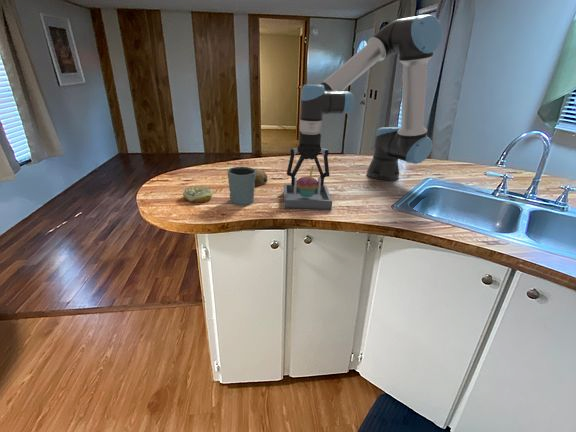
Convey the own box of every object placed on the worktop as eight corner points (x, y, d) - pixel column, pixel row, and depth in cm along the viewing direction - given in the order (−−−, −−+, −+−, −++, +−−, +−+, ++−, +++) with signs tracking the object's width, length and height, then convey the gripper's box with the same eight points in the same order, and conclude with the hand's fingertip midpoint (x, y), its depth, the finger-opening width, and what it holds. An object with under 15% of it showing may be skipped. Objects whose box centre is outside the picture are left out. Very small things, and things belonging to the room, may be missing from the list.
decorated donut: (189, 206, 110) (188, 196, 109) (180, 196, 118) (179, 187, 116) (216, 200, 116) (216, 191, 114) (206, 192, 124) (205, 183, 122)
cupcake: (321, 194, 118) (323, 163, 113) (310, 201, 112) (312, 169, 107) (302, 189, 123) (303, 160, 117) (290, 196, 116) (291, 165, 111)
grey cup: (232, 195, 120) (230, 165, 115) (257, 196, 120) (257, 166, 115) (226, 206, 111) (224, 174, 106) (254, 207, 111) (253, 175, 106)
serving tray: (325, 193, 126) (325, 185, 125) (331, 210, 111) (332, 201, 109) (283, 192, 126) (284, 184, 124) (284, 209, 110) (284, 200, 109)
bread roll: (259, 194, 132) (267, 179, 129) (238, 183, 132) (245, 167, 128) (265, 187, 141) (272, 172, 137) (245, 176, 141) (252, 161, 137)
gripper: (280, 133, 104) (279, 196, 113) (342, 135, 104) (335, 197, 114) (280, 129, 110) (279, 189, 120) (338, 131, 111) (332, 190, 121)
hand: (306, 193), depth 117 cm, fingers closed on cupcake, 8 cm apart
